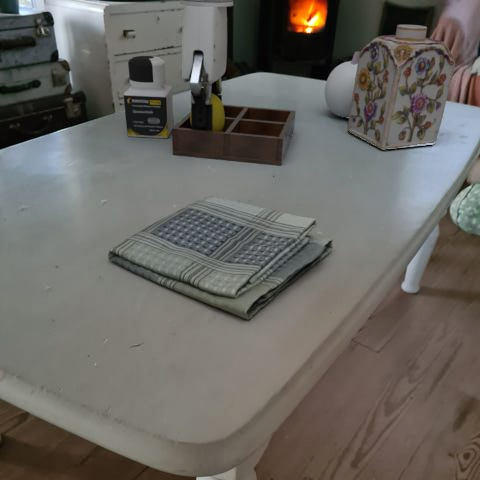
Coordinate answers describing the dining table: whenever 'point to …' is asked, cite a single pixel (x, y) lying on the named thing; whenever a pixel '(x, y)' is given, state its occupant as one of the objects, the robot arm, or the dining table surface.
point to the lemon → (216, 113)
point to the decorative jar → (401, 89)
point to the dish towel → (224, 253)
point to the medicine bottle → (148, 99)
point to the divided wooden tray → (239, 136)
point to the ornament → (341, 87)
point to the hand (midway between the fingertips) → (207, 124)
